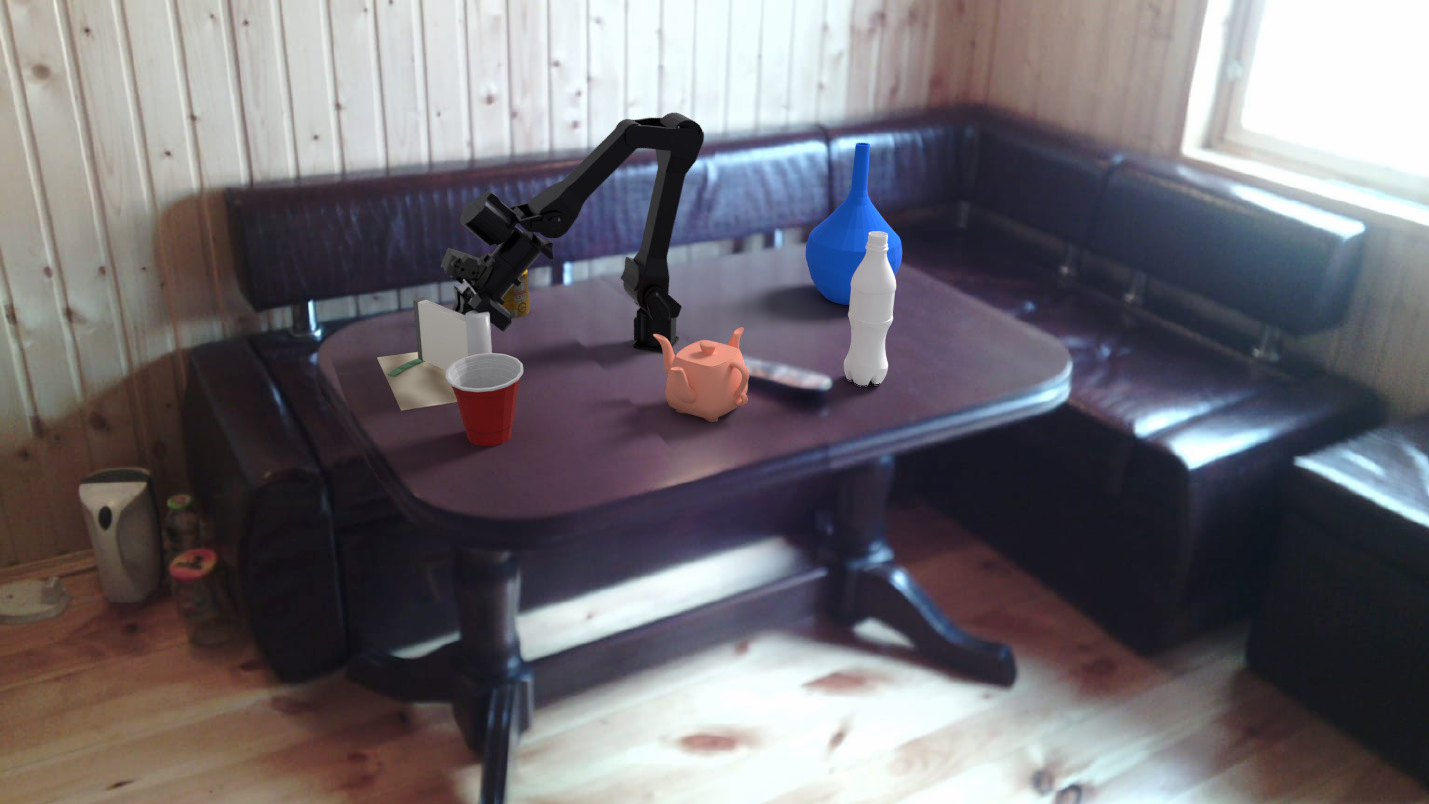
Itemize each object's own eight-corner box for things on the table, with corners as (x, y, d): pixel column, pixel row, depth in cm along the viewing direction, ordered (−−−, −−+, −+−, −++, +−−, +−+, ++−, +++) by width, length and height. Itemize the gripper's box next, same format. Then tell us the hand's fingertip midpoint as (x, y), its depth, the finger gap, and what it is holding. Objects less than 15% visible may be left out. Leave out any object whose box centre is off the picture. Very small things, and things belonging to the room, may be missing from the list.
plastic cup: (435, 451, 165) (428, 374, 159) (478, 421, 174) (474, 347, 168) (500, 468, 161) (495, 390, 156) (541, 436, 170) (538, 361, 165)
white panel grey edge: (498, 386, 181) (494, 314, 176) (480, 393, 178) (475, 320, 173) (432, 356, 190) (426, 287, 185) (413, 362, 188) (407, 293, 183)
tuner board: (474, 350, 197) (473, 342, 196) (506, 401, 180) (506, 392, 179) (377, 364, 191) (376, 355, 190) (401, 417, 174) (401, 408, 173)
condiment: (527, 309, 215) (525, 247, 210) (537, 326, 208) (535, 262, 203) (488, 313, 213) (484, 251, 208) (497, 330, 206) (493, 266, 200)
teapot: (670, 433, 172) (671, 365, 167) (652, 392, 184) (652, 328, 180) (764, 425, 175) (767, 358, 170) (740, 385, 188) (743, 322, 183)
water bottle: (890, 375, 193) (905, 230, 182) (881, 392, 187) (896, 243, 176) (848, 368, 195) (860, 224, 184) (837, 385, 189) (850, 237, 178)
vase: (806, 277, 235) (815, 130, 222) (897, 284, 233) (912, 136, 220) (799, 310, 219) (809, 152, 206) (897, 317, 217) (914, 159, 204)
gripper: (456, 215, 187) (393, 288, 188) (486, 249, 172) (417, 328, 173) (506, 256, 194) (446, 326, 194) (539, 292, 179) (473, 369, 179)
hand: (444, 336), depth 185 cm, fingers closed
